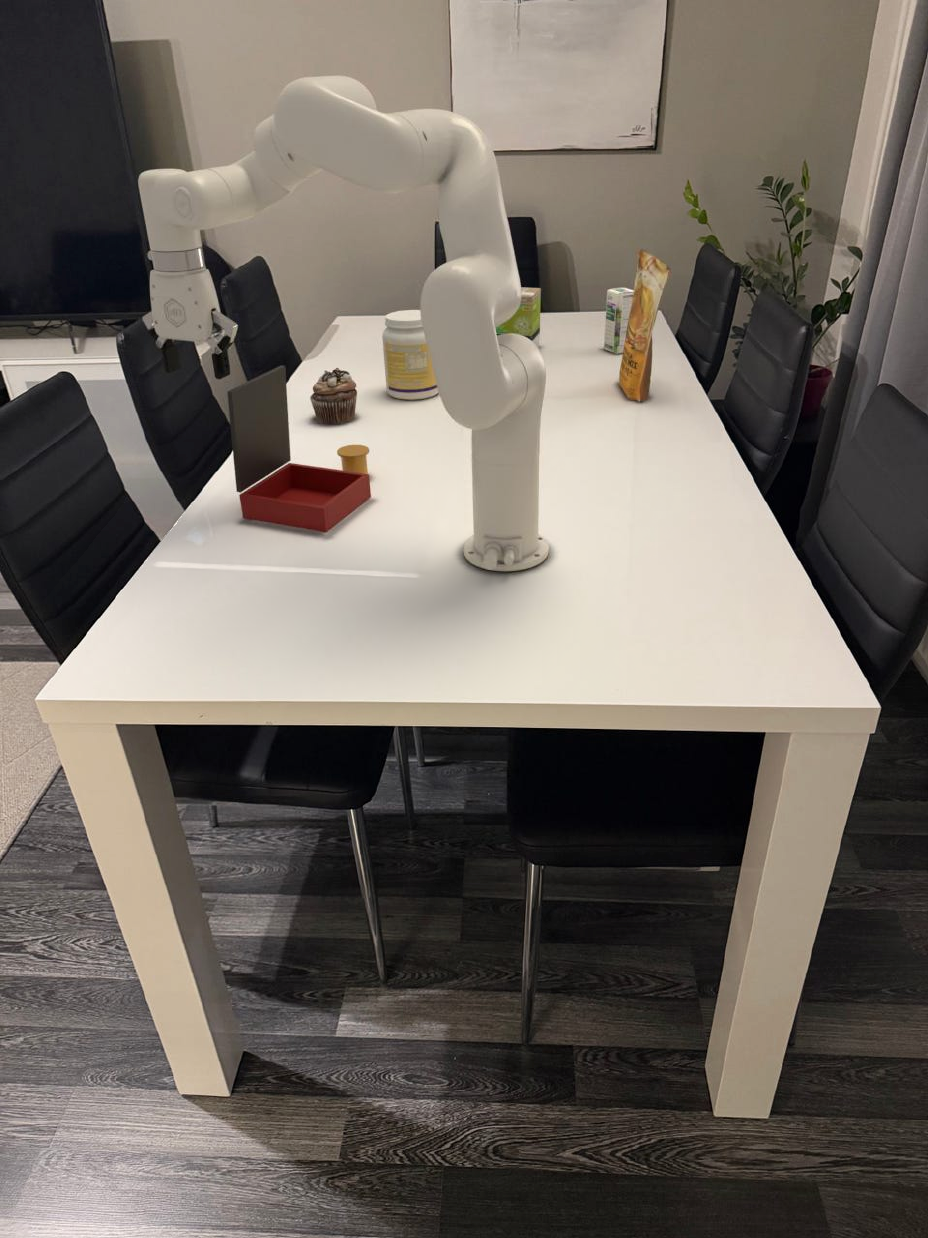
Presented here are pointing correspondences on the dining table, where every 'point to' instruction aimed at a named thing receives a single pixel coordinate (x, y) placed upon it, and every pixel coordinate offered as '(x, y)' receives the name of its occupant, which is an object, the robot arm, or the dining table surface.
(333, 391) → the cupcake
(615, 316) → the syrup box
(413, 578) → the dining table surface
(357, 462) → the brass drawer pull
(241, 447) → the lid
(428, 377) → the supplement tub
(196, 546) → the dining table surface
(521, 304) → the tea box
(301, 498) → the red open tray
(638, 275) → the pancake mix bag
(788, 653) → the dining table surface
